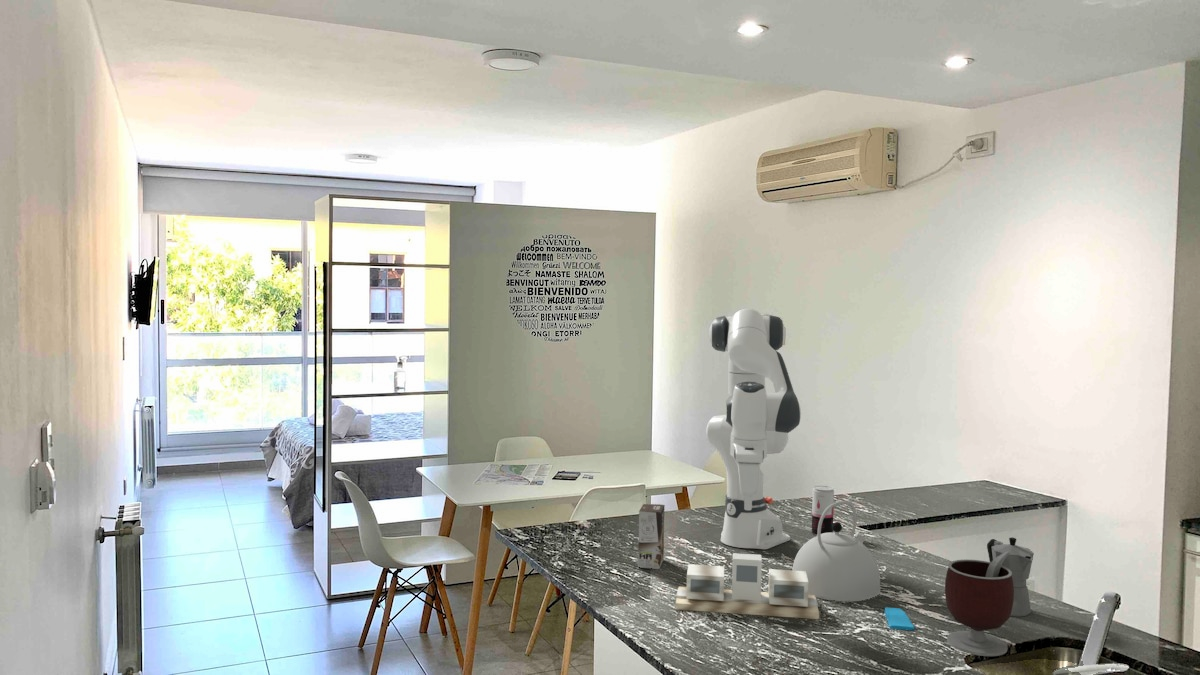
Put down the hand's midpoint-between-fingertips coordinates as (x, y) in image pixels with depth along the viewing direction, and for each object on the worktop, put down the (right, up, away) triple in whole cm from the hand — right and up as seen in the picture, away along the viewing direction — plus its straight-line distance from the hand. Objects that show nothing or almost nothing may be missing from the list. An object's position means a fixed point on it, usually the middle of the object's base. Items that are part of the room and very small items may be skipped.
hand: (747, 504), depth 212 cm
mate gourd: (+48, -27, -21) cm, 59 cm away
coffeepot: (+64, -26, +1) cm, 69 cm away
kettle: (+27, -25, +17) cm, 40 cm away
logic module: (0, -23, +1) cm, 23 cm away
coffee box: (-22, -23, +32) cm, 45 cm away
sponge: (+35, -27, -7) cm, 44 cm away
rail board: (0, -25, +1) cm, 25 cm away
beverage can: (+35, -22, +63) cm, 75 cm away
